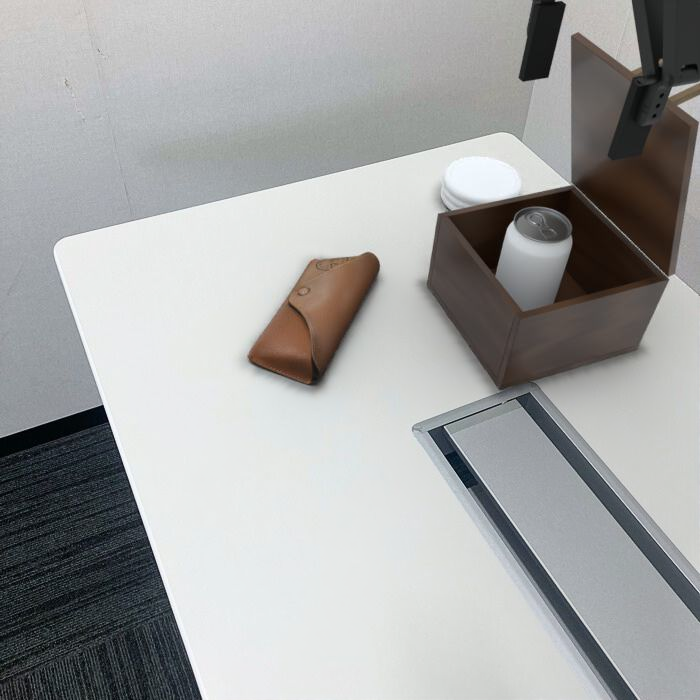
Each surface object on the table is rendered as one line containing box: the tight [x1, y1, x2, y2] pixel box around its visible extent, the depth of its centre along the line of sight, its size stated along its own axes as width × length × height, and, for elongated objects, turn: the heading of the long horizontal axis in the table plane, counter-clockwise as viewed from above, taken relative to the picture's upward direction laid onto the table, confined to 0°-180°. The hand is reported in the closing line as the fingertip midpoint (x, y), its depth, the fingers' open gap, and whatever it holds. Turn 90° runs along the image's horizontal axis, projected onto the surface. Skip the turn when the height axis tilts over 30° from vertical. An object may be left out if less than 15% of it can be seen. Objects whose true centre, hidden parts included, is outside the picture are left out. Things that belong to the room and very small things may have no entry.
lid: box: [570, 31, 700, 278], centre depth 70 cm, size 18×17×10 cm
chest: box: [426, 184, 670, 391], centre depth 78 cm, size 17×17×10 cm
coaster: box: [440, 155, 524, 211], centre depth 95 cm, size 10×10×4 cm
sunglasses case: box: [246, 251, 381, 386], centre depth 79 cm, size 18×7×7 cm
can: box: [495, 207, 572, 312], centre depth 77 cm, size 6×6×12 cm
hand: (575, 114), depth 64 cm, fingers open, 13 cm apart
